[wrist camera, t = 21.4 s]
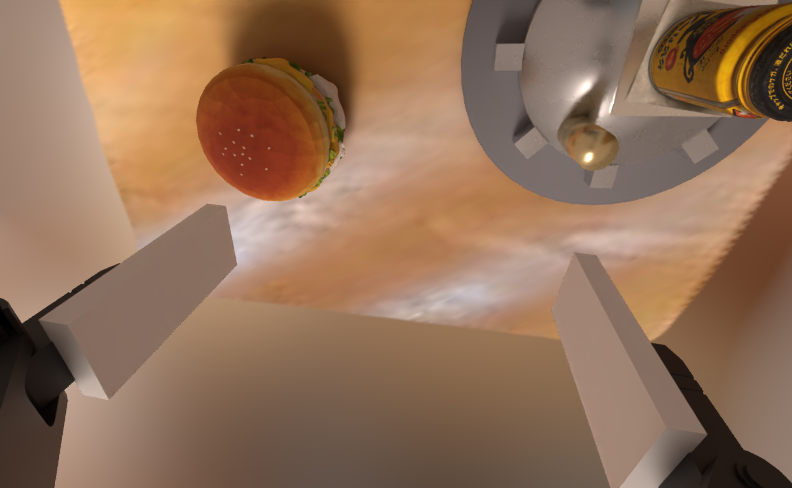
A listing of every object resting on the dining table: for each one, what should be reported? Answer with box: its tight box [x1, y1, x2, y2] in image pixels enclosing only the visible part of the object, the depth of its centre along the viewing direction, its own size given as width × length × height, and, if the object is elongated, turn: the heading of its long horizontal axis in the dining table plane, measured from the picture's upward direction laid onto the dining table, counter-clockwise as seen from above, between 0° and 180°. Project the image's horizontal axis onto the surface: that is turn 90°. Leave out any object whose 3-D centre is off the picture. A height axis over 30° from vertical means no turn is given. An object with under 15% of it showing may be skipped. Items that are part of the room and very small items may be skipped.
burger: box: [196, 57, 347, 201], centre depth 35 cm, size 14×14×10 cm
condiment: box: [626, 0, 792, 122], centre depth 23 cm, size 7×8×12 cm
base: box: [461, 0, 792, 205], centre depth 30 cm, size 28×28×4 cm
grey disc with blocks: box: [492, 0, 779, 188], centre depth 27 cm, size 22×22×8 cm
